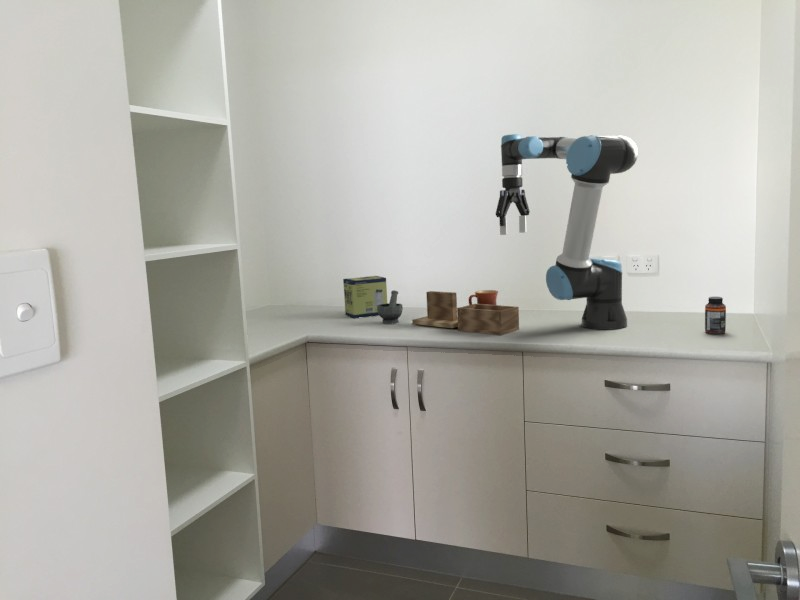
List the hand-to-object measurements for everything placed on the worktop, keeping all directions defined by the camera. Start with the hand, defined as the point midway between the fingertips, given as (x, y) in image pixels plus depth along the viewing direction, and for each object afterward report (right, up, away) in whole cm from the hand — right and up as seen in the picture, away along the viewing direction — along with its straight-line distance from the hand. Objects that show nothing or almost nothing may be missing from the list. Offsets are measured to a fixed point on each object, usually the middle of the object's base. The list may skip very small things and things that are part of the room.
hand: (513, 233), depth 257 cm
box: (-12, -36, -22) cm, 44 cm away
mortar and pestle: (-47, -34, +3) cm, 58 cm away
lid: (-27, -34, -7) cm, 44 cm away
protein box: (-57, -32, +24) cm, 70 cm away
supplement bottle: (+56, -36, -44) cm, 80 cm away
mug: (-11, -32, +2) cm, 34 cm away
